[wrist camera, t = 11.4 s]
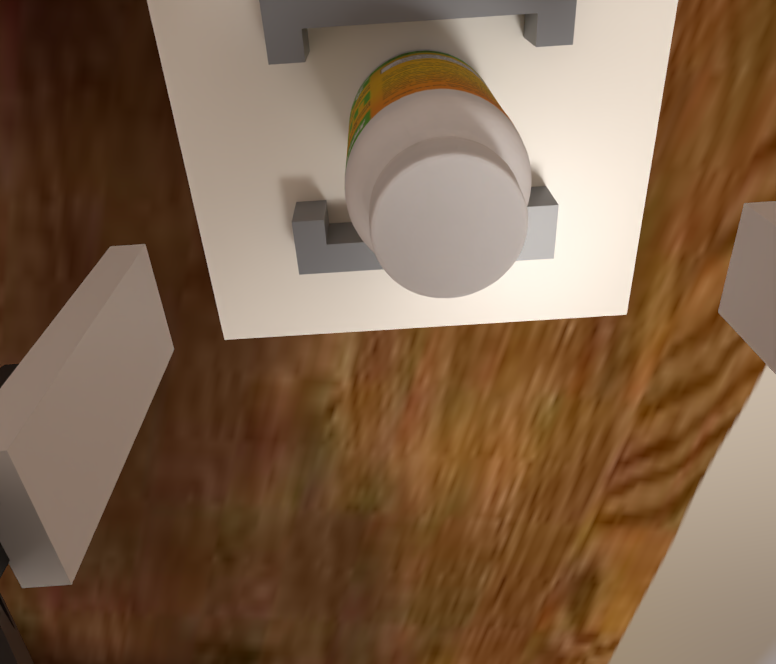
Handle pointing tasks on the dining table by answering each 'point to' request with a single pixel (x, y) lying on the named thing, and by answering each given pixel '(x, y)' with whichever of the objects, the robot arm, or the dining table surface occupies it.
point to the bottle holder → (330, 139)
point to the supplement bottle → (436, 175)
